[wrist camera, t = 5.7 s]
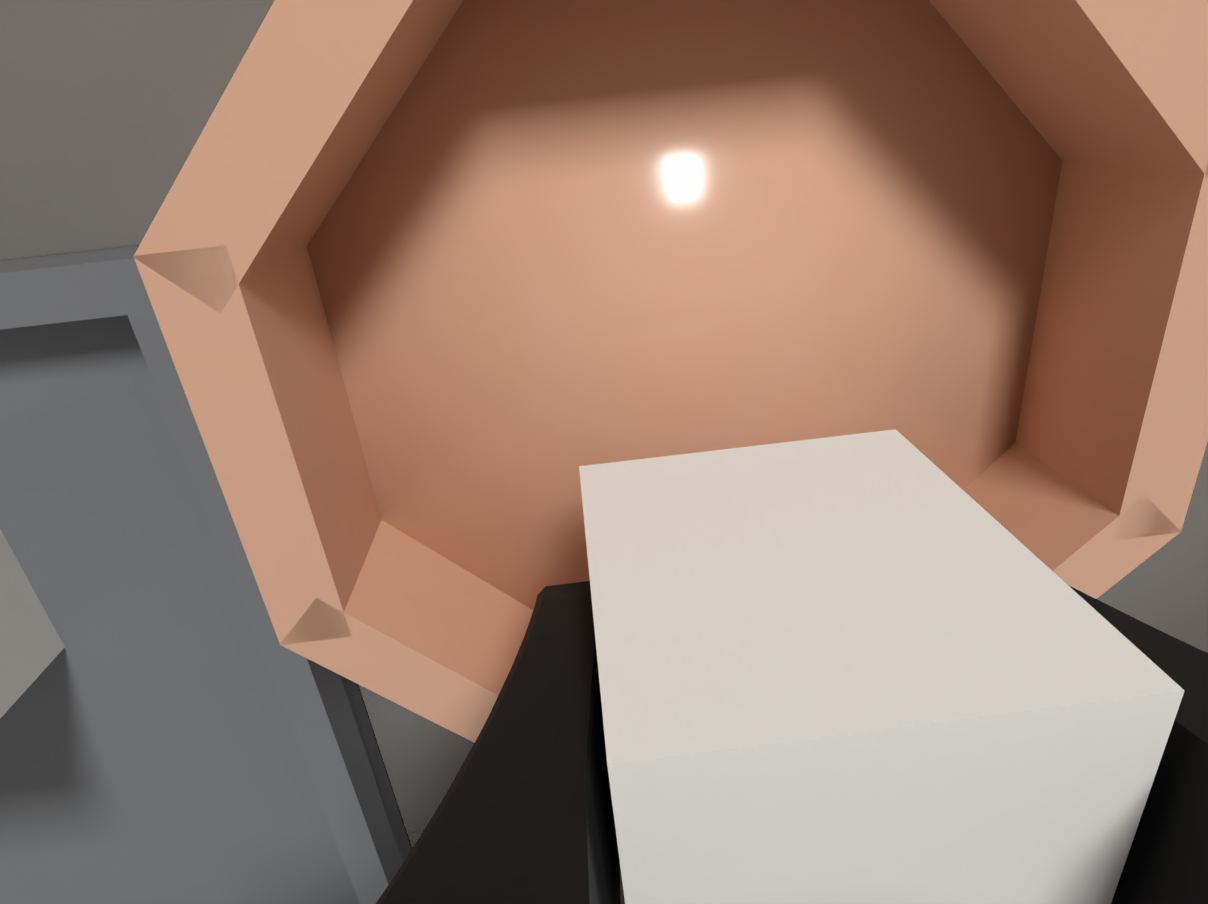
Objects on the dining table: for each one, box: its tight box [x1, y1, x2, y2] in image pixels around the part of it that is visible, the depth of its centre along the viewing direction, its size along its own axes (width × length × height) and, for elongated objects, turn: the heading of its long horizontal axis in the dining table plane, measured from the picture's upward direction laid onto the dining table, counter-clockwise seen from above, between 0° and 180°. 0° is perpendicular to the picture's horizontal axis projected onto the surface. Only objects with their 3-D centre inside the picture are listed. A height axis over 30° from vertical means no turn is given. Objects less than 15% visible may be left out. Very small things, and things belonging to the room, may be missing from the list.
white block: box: [579, 429, 1184, 904], centre depth 8 cm, size 4×4×4 cm
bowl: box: [133, 0, 1208, 743], centre depth 10 cm, size 13×13×3 cm
